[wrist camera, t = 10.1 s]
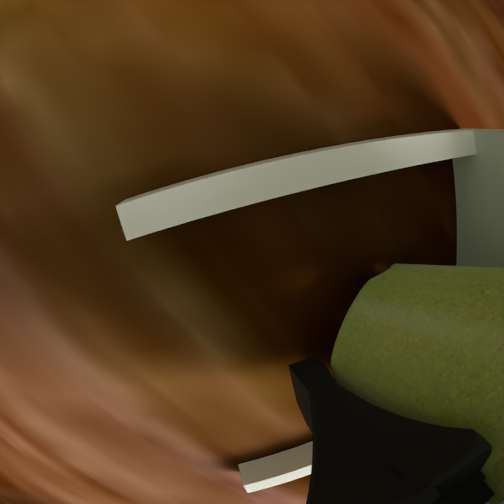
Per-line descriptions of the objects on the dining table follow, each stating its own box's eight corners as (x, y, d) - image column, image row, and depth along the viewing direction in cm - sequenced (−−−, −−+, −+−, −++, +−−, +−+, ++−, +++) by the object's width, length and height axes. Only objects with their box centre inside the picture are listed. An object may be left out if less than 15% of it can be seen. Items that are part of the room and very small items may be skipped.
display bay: (451, 379, 16) (498, 423, 11) (242, 472, 14) (262, 545, 9) (461, 128, 11) (551, 133, 6) (125, 198, 9) (69, 236, 4)
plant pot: (443, 273, 14) (582, 303, 7) (374, 435, 13) (506, 497, 6) (363, 166, 9) (630, 182, 2) (240, 442, 8) (475, 604, 1)
